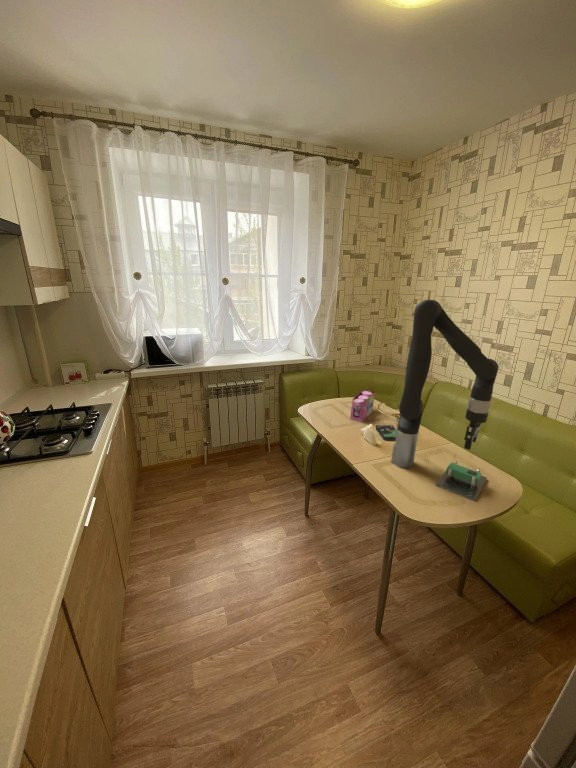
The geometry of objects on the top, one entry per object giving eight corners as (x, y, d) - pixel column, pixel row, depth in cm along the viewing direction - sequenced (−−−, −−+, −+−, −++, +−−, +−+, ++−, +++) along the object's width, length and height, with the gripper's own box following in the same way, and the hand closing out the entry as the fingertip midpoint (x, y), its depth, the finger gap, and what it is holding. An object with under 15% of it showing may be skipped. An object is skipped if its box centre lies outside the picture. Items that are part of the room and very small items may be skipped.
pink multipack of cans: (361, 423, 192) (363, 402, 188) (348, 420, 196) (350, 399, 192) (373, 410, 212) (375, 391, 208) (361, 408, 216) (363, 389, 212)
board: (446, 473, 137) (447, 466, 136) (449, 468, 141) (451, 461, 140) (476, 485, 129) (478, 477, 128) (480, 479, 133) (481, 472, 132)
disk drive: (374, 429, 186) (384, 441, 171) (375, 425, 185) (384, 436, 171) (391, 429, 186) (402, 440, 172) (392, 424, 186) (403, 436, 171)
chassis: (435, 485, 134) (438, 472, 132) (450, 466, 148) (452, 454, 146) (475, 501, 124) (478, 487, 122) (486, 479, 138) (489, 466, 136)
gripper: (472, 401, 133) (464, 436, 138) (462, 411, 123) (455, 448, 128) (492, 406, 128) (484, 442, 133) (484, 416, 118) (475, 454, 123)
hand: (469, 445), depth 130 cm, fingers open, 8 cm apart
